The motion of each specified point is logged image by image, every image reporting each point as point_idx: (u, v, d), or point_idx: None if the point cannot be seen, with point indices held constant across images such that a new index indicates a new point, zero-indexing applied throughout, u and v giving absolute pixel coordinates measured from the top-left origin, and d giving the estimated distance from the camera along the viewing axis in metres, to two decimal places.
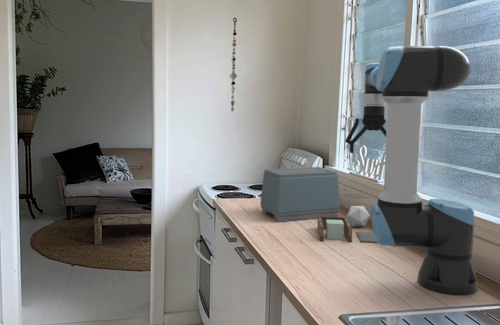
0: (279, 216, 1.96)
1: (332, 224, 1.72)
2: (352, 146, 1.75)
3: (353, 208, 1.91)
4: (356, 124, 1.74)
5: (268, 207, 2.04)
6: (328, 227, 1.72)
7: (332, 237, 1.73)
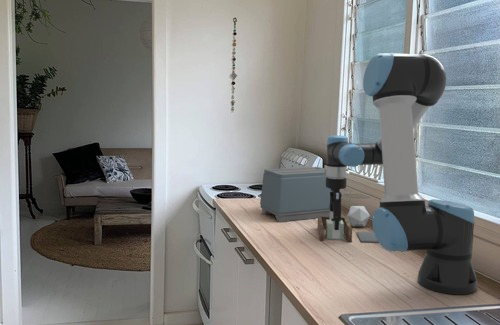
0: (280, 216, 1.96)
1: (332, 224, 1.72)
2: None
3: (353, 208, 1.91)
4: (330, 192, 1.80)
5: (269, 207, 2.04)
6: (328, 227, 1.72)
7: None
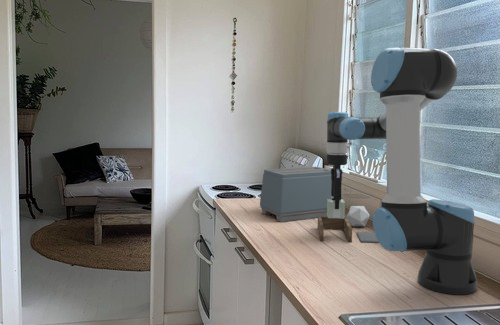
0: (282, 216, 1.96)
1: None
2: (333, 198, 1.78)
3: (353, 208, 1.91)
4: None
5: (269, 207, 2.04)
6: (329, 206, 1.71)
7: None
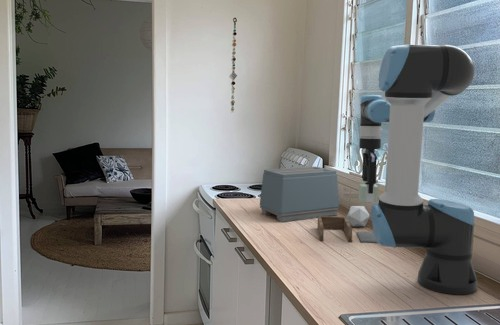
0: (282, 216, 1.96)
1: None
2: None
3: (353, 208, 1.91)
4: (363, 158, 1.76)
5: (269, 207, 2.03)
6: (362, 190, 1.69)
7: None
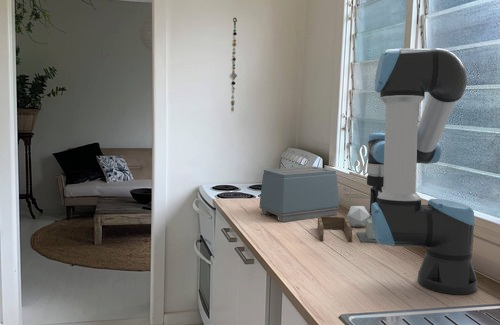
0: (283, 216, 1.96)
1: None
2: (371, 217, 1.78)
3: (353, 208, 1.91)
4: None
5: (270, 207, 2.03)
6: (369, 226, 1.71)
7: None
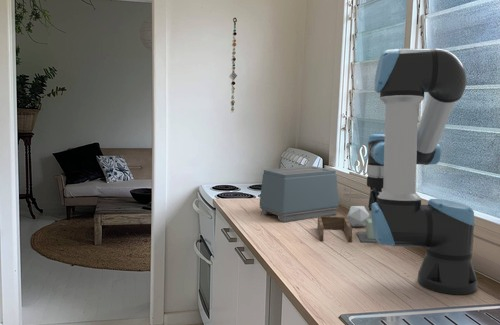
0: (284, 216, 1.96)
1: None
2: (370, 212, 1.81)
3: (353, 208, 1.91)
4: (370, 191, 1.79)
5: (270, 208, 2.03)
6: (369, 226, 1.71)
7: (373, 236, 1.71)
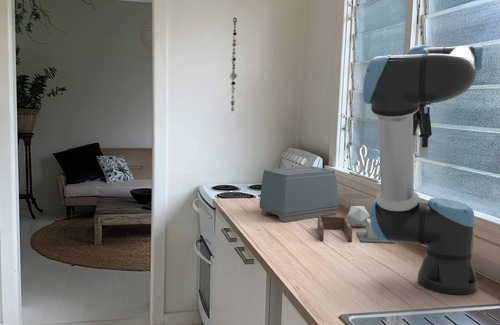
0: (285, 216, 1.96)
1: None
2: None
3: (353, 208, 1.91)
4: None
5: (271, 208, 2.03)
6: (369, 226, 1.71)
7: (373, 236, 1.71)
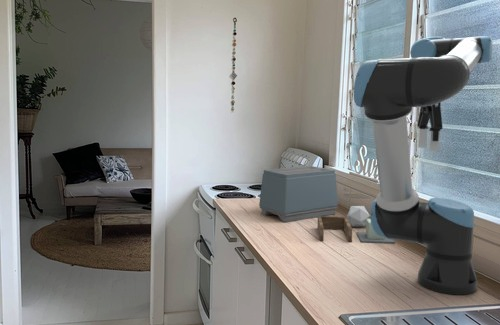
0: (286, 216, 1.96)
1: None
2: None
3: (353, 208, 1.91)
4: (421, 106, 1.62)
5: (271, 208, 2.03)
6: (369, 226, 1.71)
7: (373, 236, 1.71)
